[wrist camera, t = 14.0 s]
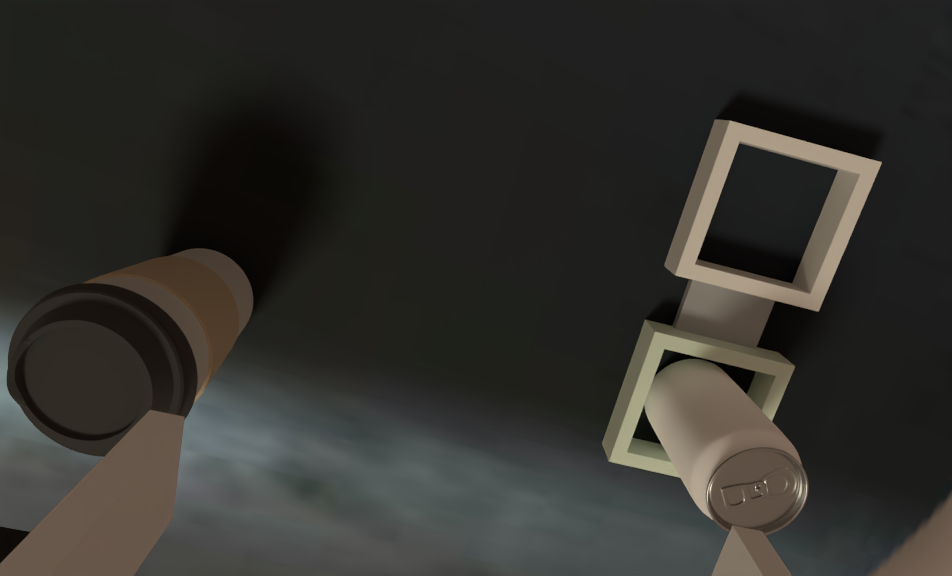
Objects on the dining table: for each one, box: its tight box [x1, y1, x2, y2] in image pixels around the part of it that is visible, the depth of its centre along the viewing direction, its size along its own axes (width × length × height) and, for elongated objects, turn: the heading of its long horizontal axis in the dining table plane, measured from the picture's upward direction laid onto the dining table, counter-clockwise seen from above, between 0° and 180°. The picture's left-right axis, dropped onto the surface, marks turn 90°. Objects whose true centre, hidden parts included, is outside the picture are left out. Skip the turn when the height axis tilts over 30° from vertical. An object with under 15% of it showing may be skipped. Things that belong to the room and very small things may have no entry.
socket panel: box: [602, 119, 882, 477], centre depth 44 cm, size 24×10×2 cm, turn 165°
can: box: [645, 359, 808, 535], centre depth 41 cm, size 6×6×12 cm
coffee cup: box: [7, 248, 253, 457], centre depth 37 cm, size 9×9×15 cm
